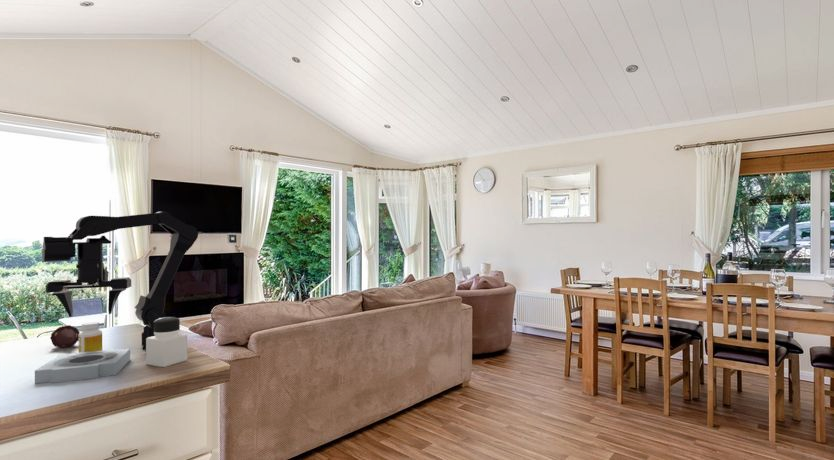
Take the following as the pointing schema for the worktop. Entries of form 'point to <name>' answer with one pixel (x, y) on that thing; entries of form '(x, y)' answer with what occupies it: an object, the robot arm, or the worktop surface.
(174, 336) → the medicine bottle
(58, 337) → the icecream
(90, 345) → the supplement bottle
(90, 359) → the socket block
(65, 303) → the robot arm
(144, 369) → the worktop surface
